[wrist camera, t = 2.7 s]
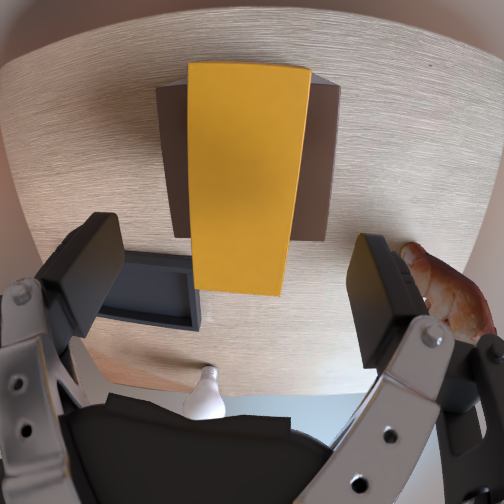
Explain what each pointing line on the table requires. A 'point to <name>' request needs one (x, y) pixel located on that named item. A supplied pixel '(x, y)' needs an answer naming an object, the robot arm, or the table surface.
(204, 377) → the lightbulb
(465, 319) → the figurine
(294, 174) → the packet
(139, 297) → the tray
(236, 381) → the table surface
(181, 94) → the stand
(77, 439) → the robot arm
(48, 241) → the table surface
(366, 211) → the table surface
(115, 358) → the table surface
